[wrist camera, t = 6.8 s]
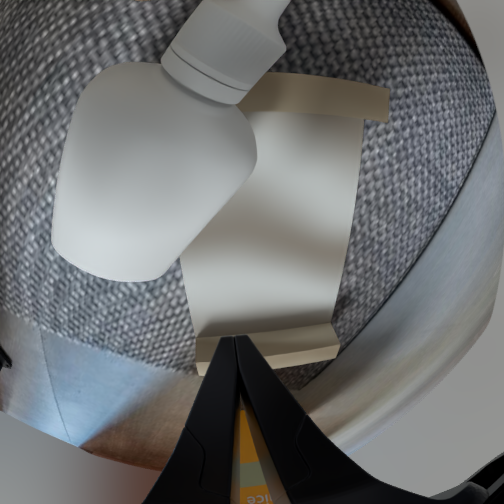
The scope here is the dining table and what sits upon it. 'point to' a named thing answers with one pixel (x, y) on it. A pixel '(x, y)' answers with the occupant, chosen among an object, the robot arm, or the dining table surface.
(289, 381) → the dining table surface
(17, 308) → the dining table surface
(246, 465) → the orange juice
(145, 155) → the eye dropper bottle
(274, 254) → the u rest
